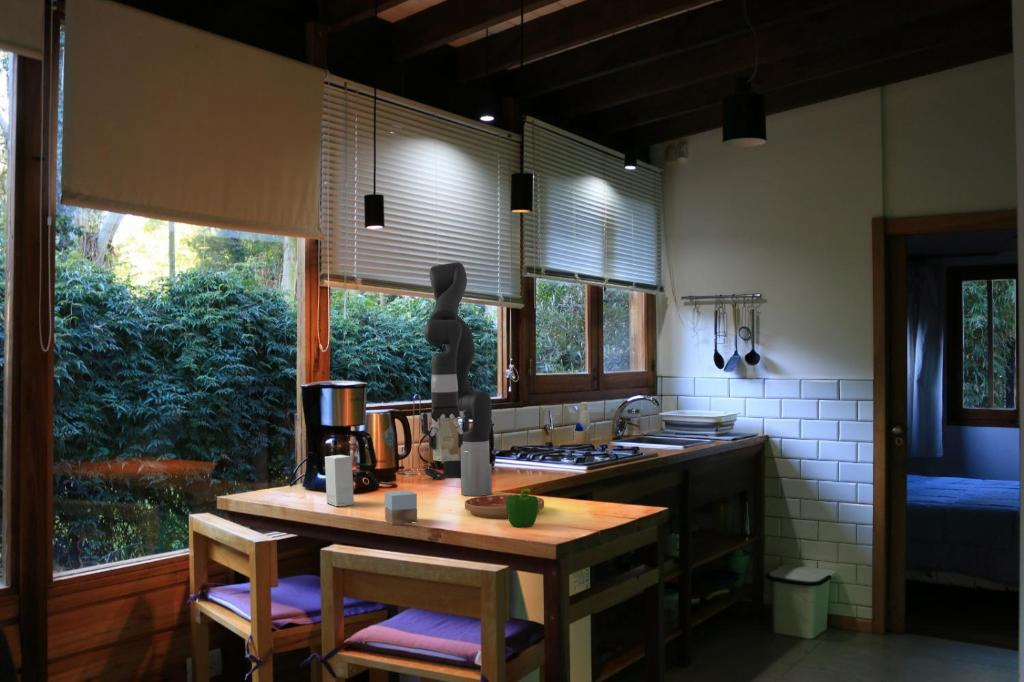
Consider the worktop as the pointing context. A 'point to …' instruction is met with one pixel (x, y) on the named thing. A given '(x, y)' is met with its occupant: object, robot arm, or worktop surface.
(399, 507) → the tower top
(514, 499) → the bell pepper
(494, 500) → the saucer
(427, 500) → the worktop surface
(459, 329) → the robot arm
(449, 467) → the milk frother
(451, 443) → the skincare box
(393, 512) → the tower base
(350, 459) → the skincare box
